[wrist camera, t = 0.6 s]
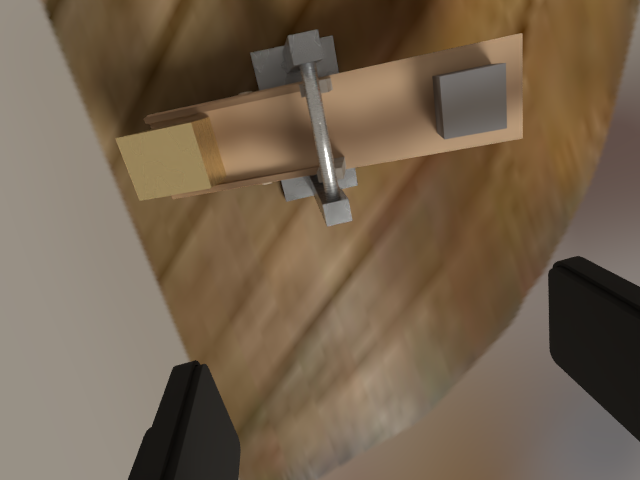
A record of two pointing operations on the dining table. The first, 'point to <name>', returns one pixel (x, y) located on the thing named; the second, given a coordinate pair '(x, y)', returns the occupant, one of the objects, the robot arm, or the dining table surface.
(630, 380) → the robot arm
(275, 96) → the beam
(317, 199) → the stand
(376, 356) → the dining table surface
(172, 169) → the block
